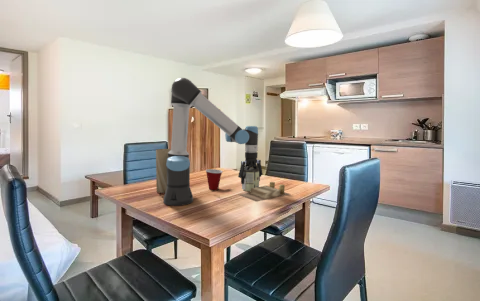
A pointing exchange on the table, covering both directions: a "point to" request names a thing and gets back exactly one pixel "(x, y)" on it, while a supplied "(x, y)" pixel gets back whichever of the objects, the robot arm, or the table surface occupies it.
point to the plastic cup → (213, 178)
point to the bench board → (257, 198)
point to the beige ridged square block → (265, 191)
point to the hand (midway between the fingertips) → (250, 187)
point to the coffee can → (251, 178)
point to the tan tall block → (161, 169)
